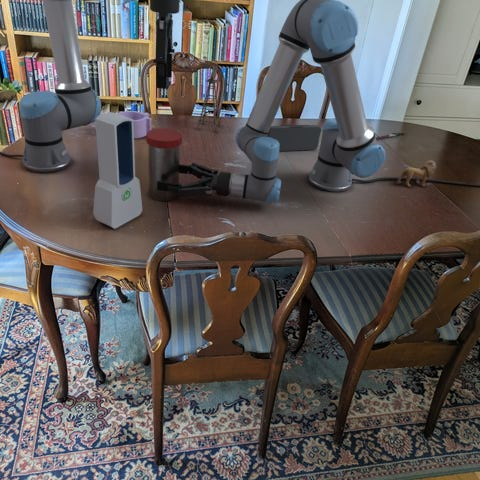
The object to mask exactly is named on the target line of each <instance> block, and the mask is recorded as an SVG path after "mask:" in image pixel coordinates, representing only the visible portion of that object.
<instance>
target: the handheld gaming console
mask: <svg viewBox="0 0 480 480" xmlns="http://www.w3.org/2000/svg"><path fill="white" fill-rule="evenodd" d="M321 133H322V127H321V126H319V125H318V124H292V125H291V124H290V125H289V124H286V125H285V124H284V125H283V124H281V125H271V127H270V130H269V132H268V134H267V137H271V138H273V139H276V140H277V141H278V142H279V144H280V147H279V152H289V151H290V152H292V151H294V152H295V151H312V150H317V148H318V147H319V145H320V137H321Z"/></svg>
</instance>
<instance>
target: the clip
mask: <svg viewBox="0 0 480 480" xmlns="http://www.w3.org/2000/svg"><path fill="white" fill-rule="evenodd" d="M115 113H116V114H119V115H122V116H125V117H128V118H131V119H133V125H134V139H140V138H144V137H146V134H147V132H148V131H150V130H153V129H152V127H153V126H152V118H151V117H150V113H149V112H142V111H138V110H137V111H135V110H124V111H119V112H115ZM101 114H102V113H100V115H101Z"/></svg>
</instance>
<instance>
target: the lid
mask: <svg viewBox="0 0 480 480" xmlns="http://www.w3.org/2000/svg"><path fill="white" fill-rule="evenodd" d="M145 141H146V144H147V145H148V146H149V145H150V146H152V147H155V148H162V149H170V148H176V147H178V146H180V147H181V145H182V143H183V134H182V133H181V132H179V131H178V130H176V129H171V128H162V127H161V128H154V129H152V130H150V131H148V132H147V134H146V136H145Z"/></svg>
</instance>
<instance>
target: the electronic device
mask: <svg viewBox="0 0 480 480" xmlns="http://www.w3.org/2000/svg"><path fill="white" fill-rule="evenodd" d="M116 113H117V112H112V111H106V112H103V113H102V112H101V113H100V114H101V115H99V116H98V117H96V118H95V122H94V124H95V136H96V137H95V139H96V150H97V163H98V174H99V175H98V176H99V179H98V180H97V182H96V184H95V186H94V198H93V211H92V214H93V216H94V218H95V220H96V221H97V222H99V223H102V224H104V225H105V226H108V227H110V228H112V229H114V230H116V229H117V228H119V227H121V226H123V225H125V224H126V223H129V222H130V221H132V220H133V219H136V218H137V217H139V216H141V214H142V212H143V202H142V192H141V191H142V190H141V184H140V183H141V182H140V178H138V177H136V161H135V160H136V159H135V158H136V157H135V156H136V155H135V138H134V125H133V119H131V118H128V117H125V116H122V115H119V114H116Z"/></svg>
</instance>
